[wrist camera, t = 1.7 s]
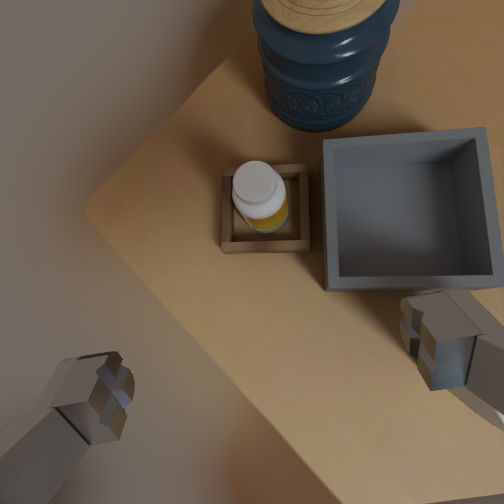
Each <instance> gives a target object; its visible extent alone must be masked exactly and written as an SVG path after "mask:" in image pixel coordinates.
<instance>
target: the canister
mask: <svg viewBox="0 0 504 504" xmlns="http://www.w3.org/2000/svg"><path fill="white" fill-rule="evenodd" d="M399 2H400V0H254V1H253V20H254V25H255V28H256V30H257V33H258V48H259V53H260V56H261V58H262V62H263V68H264V73H265V88H266V94H267V97H268V100H269V103H270V104H271V106H272V108H273V110H274V112H275V113H276V115H277V116H278V117H279V118H280V119H281V120H282V121H283V122H284V123H286V124H287V125H289V126H291V127H292V128H295V129H297V130H300V131H305V132H315V133H316V132H326V131H330V130H334V129H336V128H339V127H341V126H343V125H345V124H346V123H348V122H349V121H351V120H352V119H353V118H354V117H355V116H356V115H357V114H358V113H359V112H360V111H361V110H362V108H363V107H364V105H365V104H366V102H367V101H368V99H369V97H370V95H371V93H372V90H373V87H374V84H375V81H376V72H377V69H378V66H379V62H380V59H381V56H382V54H383V52H384V50H385V48H386V46H387V43H388V40H389V35H390V25H391V24H392V22H393V21H394V18H395V16H396V14H397V11H398V8H399Z"/></svg>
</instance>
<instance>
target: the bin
mask: <svg viewBox="0 0 504 504" xmlns="http://www.w3.org/2000/svg"><path fill="white" fill-rule="evenodd" d="M320 178H321V205H322V233H323V260H324V287H325V291H441V290H445V289H450V288H455V287H463V288H466V289H467V290H481V289H490V288H499V287H504V256H503V249H502V242H501V235H500V227H499V220H498V213H497V205H496V198H495V191H494V183H493V176H492V169H491V161H490V154H489V147H488V140H487V132H486V127H477V128H464V129H452V130H439V131H426V132H414V133H401V134H388V135H376V136H363V137H350V138H338V139H325V140H323V144H322V153H321V162H320Z"/></svg>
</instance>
